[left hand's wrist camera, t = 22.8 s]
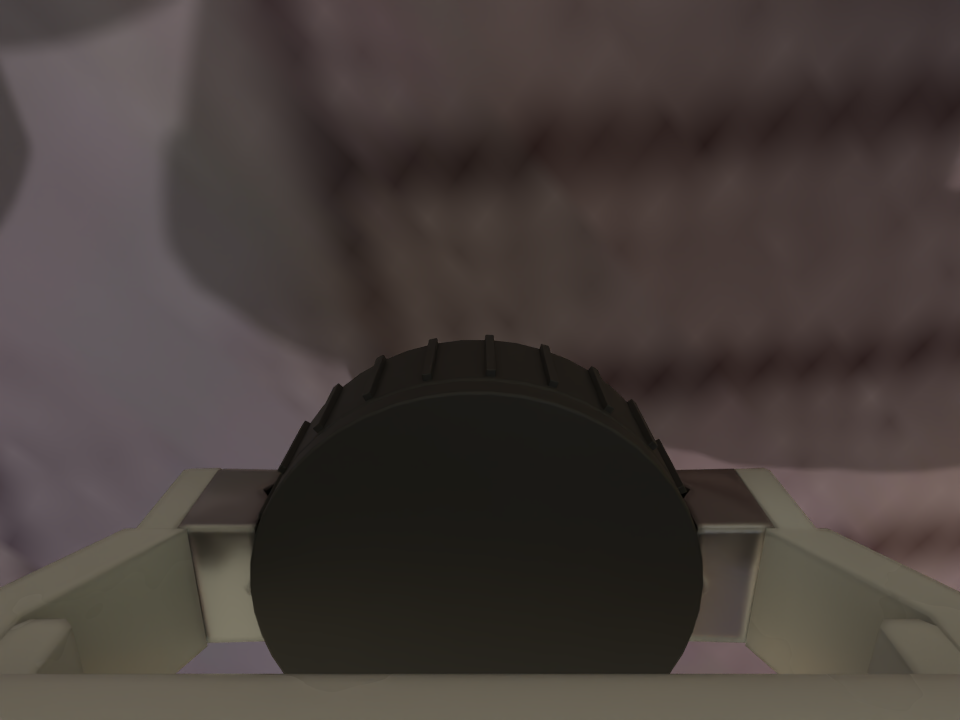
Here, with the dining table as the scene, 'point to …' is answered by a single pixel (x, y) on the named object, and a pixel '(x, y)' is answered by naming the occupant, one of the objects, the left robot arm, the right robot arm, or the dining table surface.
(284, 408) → the dining table surface
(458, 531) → the lid
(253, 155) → the dining table surface
